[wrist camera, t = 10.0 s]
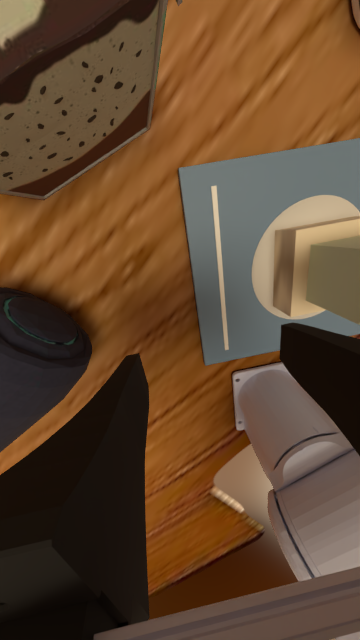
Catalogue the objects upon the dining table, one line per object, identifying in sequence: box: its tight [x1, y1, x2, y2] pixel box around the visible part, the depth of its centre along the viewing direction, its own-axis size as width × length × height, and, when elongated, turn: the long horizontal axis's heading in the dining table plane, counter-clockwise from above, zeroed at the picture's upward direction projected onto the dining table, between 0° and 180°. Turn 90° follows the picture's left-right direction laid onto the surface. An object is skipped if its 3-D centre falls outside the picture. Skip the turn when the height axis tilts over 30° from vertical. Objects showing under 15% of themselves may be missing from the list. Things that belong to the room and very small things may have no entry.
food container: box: [0, 0, 182, 200], centre depth 9 cm, size 12×6×10 cm, turn 119°
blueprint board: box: [178, 138, 360, 365], centre depth 18 cm, size 18×22×4 cm
